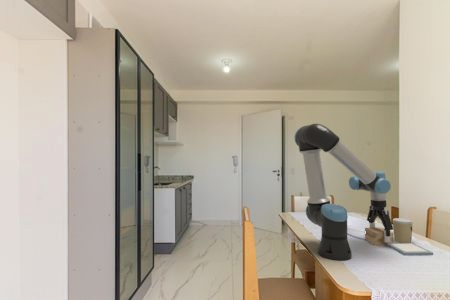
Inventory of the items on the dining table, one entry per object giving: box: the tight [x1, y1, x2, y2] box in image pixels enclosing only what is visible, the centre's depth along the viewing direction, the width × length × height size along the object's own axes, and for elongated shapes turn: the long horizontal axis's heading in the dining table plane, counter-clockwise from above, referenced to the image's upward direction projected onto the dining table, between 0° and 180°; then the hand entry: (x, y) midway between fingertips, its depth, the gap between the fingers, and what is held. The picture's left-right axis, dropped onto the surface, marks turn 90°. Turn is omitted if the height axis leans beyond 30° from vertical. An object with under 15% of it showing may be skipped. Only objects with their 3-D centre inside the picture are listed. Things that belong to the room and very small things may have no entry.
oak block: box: [364, 227, 395, 247], centre depth 147 cm, size 10×10×7 cm
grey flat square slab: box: [386, 242, 434, 256], centre depth 135 cm, size 14×14×1 cm
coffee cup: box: [392, 217, 414, 243], centre depth 148 cm, size 9×9×12 cm
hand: (379, 238), depth 147 cm, fingers open, 13 cm apart
